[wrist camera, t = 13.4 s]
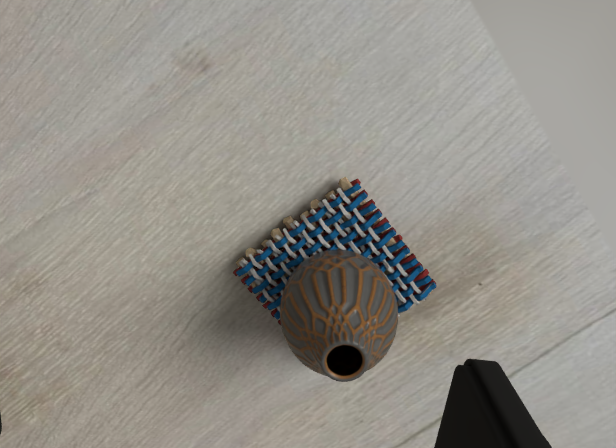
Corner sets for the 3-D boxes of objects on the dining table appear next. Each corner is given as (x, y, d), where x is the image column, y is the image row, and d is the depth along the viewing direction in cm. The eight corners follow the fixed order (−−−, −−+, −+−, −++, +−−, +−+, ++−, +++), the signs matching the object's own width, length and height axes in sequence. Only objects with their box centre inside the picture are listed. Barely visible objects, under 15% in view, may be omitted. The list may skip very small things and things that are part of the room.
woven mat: (227, 260, 34) (222, 272, 32) (350, 167, 32) (353, 174, 30) (318, 361, 37) (319, 378, 35) (438, 282, 35) (445, 295, 33)
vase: (337, 213, 31) (348, 271, 23) (408, 285, 33) (443, 363, 24) (261, 283, 33) (245, 361, 24) (332, 348, 34) (341, 441, 26)
